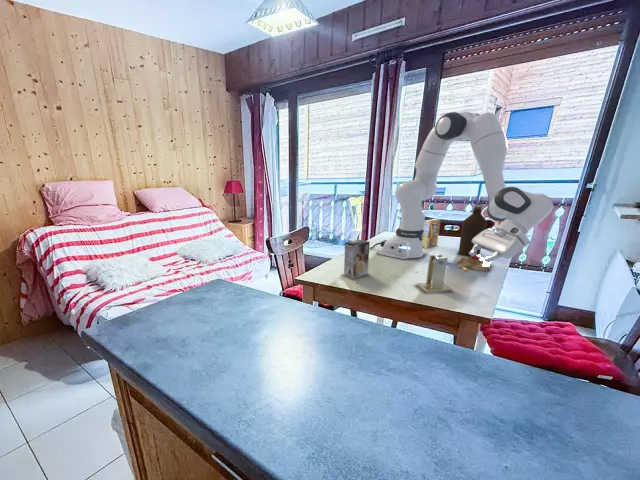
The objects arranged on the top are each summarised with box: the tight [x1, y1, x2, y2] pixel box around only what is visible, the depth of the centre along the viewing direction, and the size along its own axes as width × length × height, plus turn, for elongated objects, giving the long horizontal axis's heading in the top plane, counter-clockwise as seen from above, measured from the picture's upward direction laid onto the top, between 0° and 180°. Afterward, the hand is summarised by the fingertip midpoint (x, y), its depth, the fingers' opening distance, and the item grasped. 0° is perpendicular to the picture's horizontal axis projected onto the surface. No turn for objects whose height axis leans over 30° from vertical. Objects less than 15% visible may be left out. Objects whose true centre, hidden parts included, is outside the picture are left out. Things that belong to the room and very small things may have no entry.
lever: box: [432, 256, 470, 273], centre depth 129 cm, size 13×6×2 cm, turn 90°
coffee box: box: [343, 239, 371, 278], centre depth 149 cm, size 9×6×16 cm
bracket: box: [416, 253, 452, 293], centre depth 130 cm, size 10×8×14 cm
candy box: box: [422, 218, 442, 249], centre depth 186 cm, size 9×4×15 cm, turn 116°
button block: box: [457, 256, 492, 272], centre depth 154 cm, size 12×10×4 cm
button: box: [471, 254, 482, 260], centre depth 153 cm, size 4×4×2 cm
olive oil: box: [458, 205, 488, 257], centre depth 167 cm, size 11×11×25 cm
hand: (478, 258), depth 128 cm, fingers open, 8 cm apart
